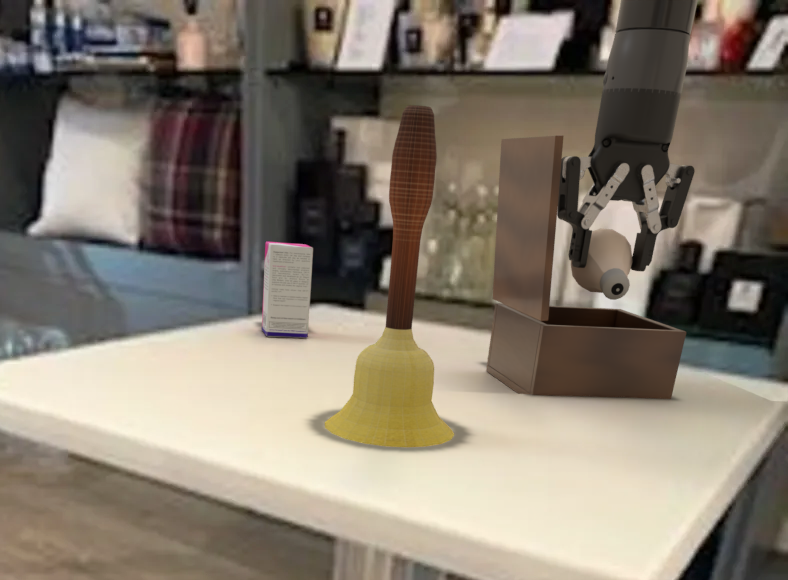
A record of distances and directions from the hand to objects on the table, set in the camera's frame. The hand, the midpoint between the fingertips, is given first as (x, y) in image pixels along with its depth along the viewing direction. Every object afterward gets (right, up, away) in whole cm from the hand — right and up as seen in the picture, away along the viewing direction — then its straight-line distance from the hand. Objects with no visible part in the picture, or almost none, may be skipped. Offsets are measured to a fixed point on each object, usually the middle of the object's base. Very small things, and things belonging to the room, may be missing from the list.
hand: (608, 268), depth 94 cm
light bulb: (-1, -3, +1) cm, 3 cm away
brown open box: (-2, -11, +6) cm, 13 cm away
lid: (-9, +3, -3) cm, 10 cm away
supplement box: (-36, 0, +25) cm, 44 cm away
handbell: (-25, -22, -18) cm, 38 cm away
